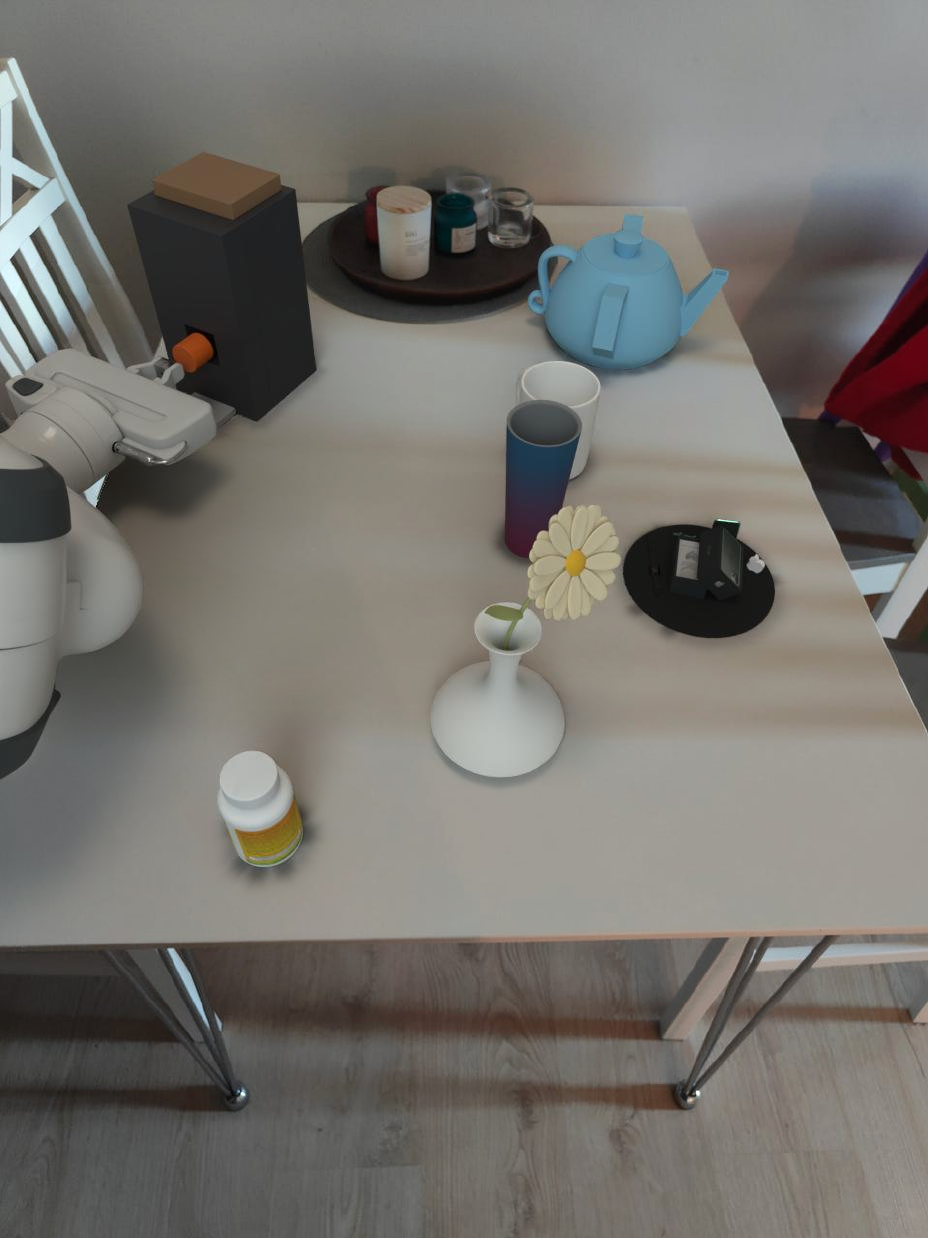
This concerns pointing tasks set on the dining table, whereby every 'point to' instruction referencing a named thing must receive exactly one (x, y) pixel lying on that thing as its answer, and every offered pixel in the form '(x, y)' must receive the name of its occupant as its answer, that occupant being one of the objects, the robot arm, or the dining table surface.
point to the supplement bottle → (259, 809)
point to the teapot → (619, 299)
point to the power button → (193, 352)
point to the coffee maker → (229, 280)
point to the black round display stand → (699, 579)
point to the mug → (564, 397)
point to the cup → (537, 468)
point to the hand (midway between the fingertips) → (173, 365)
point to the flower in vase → (501, 688)
